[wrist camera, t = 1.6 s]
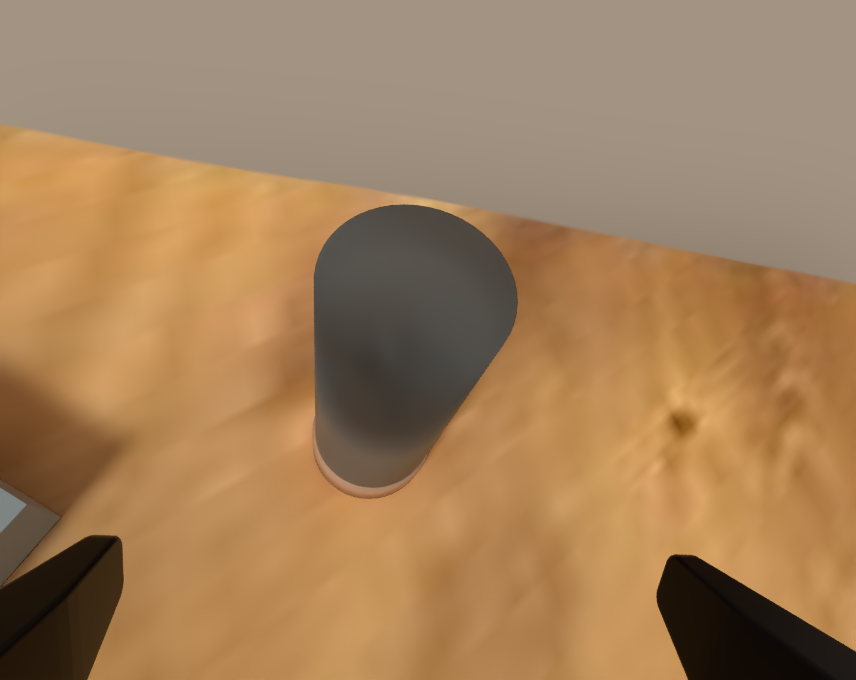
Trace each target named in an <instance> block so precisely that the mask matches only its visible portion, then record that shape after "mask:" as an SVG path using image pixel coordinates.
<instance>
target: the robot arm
mask: <svg viewBox="0 0 856 680" xmlns="http://www.w3.org/2000/svg"><path fill="white" fill-rule="evenodd" d="M123 582H124V576H123V550H122V542H121V539H120V538H119V537H118V536H110V535H90V536H88V537H86V538H84V539H82V540H80V541H79V542H77V543H75V544H74V545H72V546H70V547H69V548H67V549H65V550H64V551H62V552H60V553H59V554H57V555H55V556H54V557H52V558H50V559H49V560H47V561H45V562H44V563H42V564H40V565H39V566H37V567H35V568H34V569H32V570H30V571H29V572H27V573H26V574H24V575H22V576H21V577H19V578H17V579H16V580H14V581H12V582H11V583H9V584H7V585H6V586H4V587H2V588H1V589H0V680H87V679H88V677H89V674H90V672H91V669H92V667H93V664H94V662H95V659H96V657H97V654H98V652H99V649H100V647H101V644H102V642H103V639H104V637H105V634H106V632H107V629H108V627H109V624H110V622H111V619H112V617H113V614H114V612H115V609H116V607H117V604H118V602H119V599H120V597H121V593H122V589H123ZM656 597H657V604H658V607H659V610H660V612H661V615H662V617H663V620H664V622H665V625H666V627H667V629H668V632H669V634H670V637H671V639H672V642H673V644H674V646H675V649H676V651H677V654H678V656H679V659H680V661H681V663H682V666H683V668H684V671H685V673H686V676H687V678H688V680H856V652H855V651H854V650H852V649H850V648H849V647H847V646H845V645H844V644H842V643H840V642H839V641H837V640H835V639H834V638H832V637H830V636H829V635H827V634H825V633H824V632H822V631H820V630H819V629H817V628H815V627H814V626H812V625H810V624H809V623H807V622H805V621H804V620H802V619H800V618H799V617H797V616H795V615H794V614H792V613H790V612H789V611H787V610H785V609H784V608H782V607H780V606H779V605H777V604H775V603H774V602H772V601H770V600H769V599H767V598H765V597H763V596H762V595H760V594H758V593H757V592H755V591H753V590H752V589H750V588H748V587H747V586H745V585H743V584H742V583H740V582H738V581H737V580H735V579H733V578H732V577H730V576H728V575H727V574H725V573H723V572H722V571H720V570H718V569H717V568H715V567H713V566H712V565H710V564H708V563H707V562H705V561H703V560H702V559H700V558H698V557H696V556H693V555H678V554H675V555H672V556H670V557H669V558H668V560H667V562H666V565H665V568H664V571H663V574H662V577H661V580H660V583H659V586H658V589H657V596H656Z"/></svg>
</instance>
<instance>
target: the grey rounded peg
mask: <svg viewBox="0 0 856 680" xmlns="http://www.w3.org/2000/svg"><path fill="white" fill-rule="evenodd" d="M517 303H518V302H517V290H516V285H515V280H514V278H513V275H512V272H511V269H510V268H509V266H508V264H507V262H506V260H505V258H504V257H503V255H502V254H501V252H500V251H499V249H498V248H497V247H496V246H495V245H494V244H493V242H492V241H491V240H490V239H489V238H487V237H486V236H485V235H484V234H483V233H482V232H481V231H479V230H478V229H477V228H475V227H474V226H473V225H471V224H469V223H468V222H466V221H464V220H463V219H461V218H459V217H456V216H454V215H452V214H450V213H447V212H444V211H441V210H438V209H434V208H430V207H425V206H418V205H390V206H384V207H379V208H375V209H372V210H368V211H366V212H363V213H361V214H359V215H357V216H355V217H353V218H351V219H350V220H348V221H347V222H345V223H344V224H343V225H341V226H340V227H339V228H338V229H337V230H336V231H335V232H334V233H333V234H332V235H331V236H330V237H329V239H328V240H327V242H326V243H325V244H324V246H323V248H322V250H321V252H320V254H319V257H318V260H317V263H316V266H315V273H314V343H315V418H314V423H313V451H314V456H315V460H316V463H317V465H318V467H319V470H320V471H321V473H322V474H323V476H324V477H325V478H326V479H327V481H328V482H329V483H330V484H332V485H333V486H334V487H335V488H337V489H338V490H340V491H341V492H343V493H345V494H348V495H351V496H353V497H358V498H366V499H372V498H380V497H385V496H388V495H390V494H393V493H395V492H397V491H399V490H400V489H401V488H403V487H404V486H406V485H407V484H408V483H409V482H410V481H411V480H412V478H413V477H414V476H415V475H416V473H417V472H418V470H419V469H420V468H421V466H422V465H423V463H424V462H425V460H426V458H427V456H428V453H429V450H430V449H431V447H432V446H433V445H434V443H435V442H436V440H437V439H438V437H439V436H440V435H441V433H442V432H443V430H444V429H445V427H446V426H447V425H448V423H449V422H450V420H451V419H452V417H453V416H454V415H455V413H456V412H457V410H458V409H459V407H460V406H461V405H462V403H463V402H464V400H465V399H466V397H467V396H468V395H469V393H470V392H471V390H472V389H473V387H474V386H475V384H476V383H477V382H478V380H479V379H480V377H481V376H482V374H483V373H484V372H485V370H486V369H487V367H488V366H489V364H490V363H491V362H492V360H493V359H494V357H495V356H496V354H497V353H498V352H499V350H500V349H501V347H502V346H503V344H504V343H505V341H506V340H507V338H508V336H509V335H510V332H511V330H512V328H513V325H514V322H515V318H516V314H517Z"/></svg>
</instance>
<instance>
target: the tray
mask: <svg viewBox="0 0 856 680" xmlns="http://www.w3.org/2000/svg"><path fill="white" fill-rule="evenodd" d="M60 518H61V517H60V516H59V515H57V514H56V513H54V512H52V511H51V510H49V509H48V508H46V507H44V506H43V505H41V504H40V503H38V502H36V501H35V500H33V499H32V498H30V497H28V496H27V495H25V494H24V493H22V492H20V491H19V490H17V489H16V488H14V487H12V486H11V485H9V484H8V483H6V482H4V481H3V480H1V479H0V586H1V585H2V584H3V583H4V582H5V580H6V579H7V578H8V577H9V576H10V575H11V574H12V572H13V571H14V570H15V569H16V568H17V567H18V566H19V565H20V563H21V562H22V561H23V560H24V559H25V558H26V557H27V555H28V554H29V553H30V552H31V551H32V550H33V549H34V547H35V546H36V545H37V544H38V543H39V542H40V541H41V540H42V538H43V537H44V536H45V535H46V534H47V533H48V532H49V530H50V529H51V528H52V527H53V526H54V525H55V524H56V523H57V521H58V520H59V519H60Z"/></svg>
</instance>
